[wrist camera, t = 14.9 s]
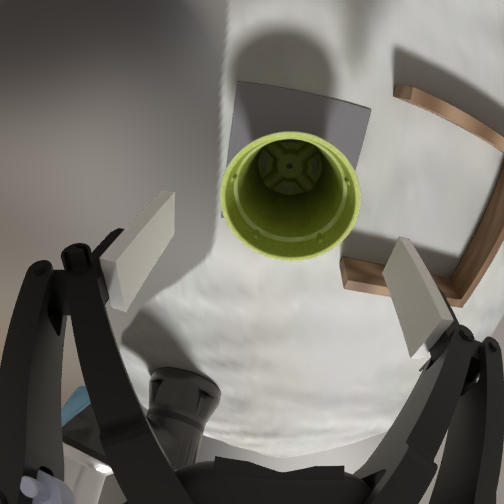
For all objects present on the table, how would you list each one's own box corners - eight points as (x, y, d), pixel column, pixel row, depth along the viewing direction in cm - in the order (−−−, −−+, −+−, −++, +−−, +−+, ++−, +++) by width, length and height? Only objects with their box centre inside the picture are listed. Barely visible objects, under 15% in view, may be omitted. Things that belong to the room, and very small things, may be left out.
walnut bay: (339, 265, 31) (343, 288, 28) (395, 84, 19) (413, 86, 16) (451, 287, 30) (461, 307, 27) (514, 149, 19) (535, 162, 15)
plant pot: (343, 118, 22) (369, 137, 15) (335, 211, 27) (350, 264, 20) (238, 115, 23) (214, 132, 16) (243, 208, 28) (225, 258, 21)
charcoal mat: (221, 216, 29) (221, 217, 29) (238, 81, 21) (237, 81, 21) (332, 238, 29) (333, 239, 29) (370, 109, 21) (371, 110, 21)
